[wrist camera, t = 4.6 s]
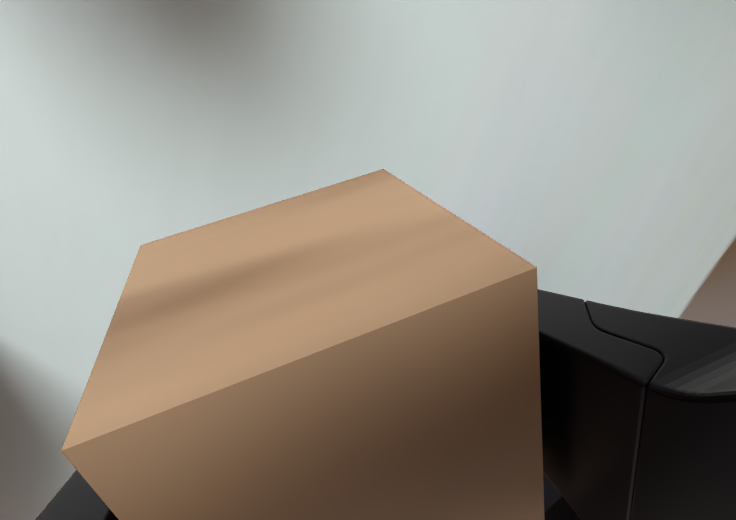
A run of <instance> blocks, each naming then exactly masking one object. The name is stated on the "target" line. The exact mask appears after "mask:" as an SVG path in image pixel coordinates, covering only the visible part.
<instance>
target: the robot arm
mask: <svg viewBox="0 0 736 520" xmlns="http://www.w3.org/2000/svg"><path fill="white" fill-rule="evenodd" d="M537 294H538V326H539V357H540V389H541V421H542V453H543V485H544V517H545V520H736V328H735V327H728V326H723V325H716V324H710V323H704V322H698V321H691V320H685V319H679V318H673V317H667V316H662V315H656V314H650V313H644V312H638V311H633V310H629V309H624V308H619V307H614V306H610V305H605V304H601V303H596V302H592V301H586V302H584V300H582V299H578V298H574V297H570V296H565V295H561V294H556V293H552V292H548V291H543V290H539V289H537ZM36 520H119V519H118V518H117V517H116V516H115V515H114V513H113V512H112V511H111V510H110V509H109V507H108V506H107V505H106V504H105V503H104V501H103V500H102V499H101V498H100V497H99V496H98V494H97V493H96V492H95V491H94V490H93V488H92V487H91V486H90V485H89V484H88V482H87V481H86V480H85V479H84V478H83V476H82V475H81V474H80V473H79V472H78V471H77V470H76V471H75V473H74V474H73V475H72V476H71V477H70V479H69V480H68V481H67V482H66V484H65V485H64V486H63V487H62V488H61V490H60V491H59V492H58V493H57V494H56V496H55V497H54V498H53V499H52V501H51V502H50V503H49V504H48V505H47V507H46V508H45V509H44V510H43V511H42V513H41V514H40V515H39V516H38V517H37V519H36Z"/></svg>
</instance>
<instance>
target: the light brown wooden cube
mask: <svg viewBox="0 0 736 520" xmlns="http://www.w3.org/2000/svg"><path fill="white" fill-rule="evenodd" d="M61 451H62V453H63V454H64V455H65V456H66V457H67V459H68V460H69V461H70V462H71V463H72V465H73V466H74V467H75V468H76V469H77V471H78V472H79V473H80V474H81V475H82V476H83V478H84V479H85V480H86V481H87V482H88V484H89V485H90V486H91V487H92V488H93V490H94V491H95V492H96V493H97V494H98V496H99V497H100V498H101V499H102V500H103V501H104V503H105V504H106V505H107V506H108V507H109V509H110V510H111V511H112V512H113V513H114V515H115V516H116V517H117V518H118V519H119V520H545V517H544V485H543V453H542V421H541V389H540V357H539V326H538V294H537V267H535V266H534V265H532V264H531V263H529V262H528V261H526V260H524V259H523V258H521V257H520V256H518V255H517V254H515V253H514V252H512V251H510V250H509V249H507V248H506V247H504V246H503V245H501V244H499V243H498V242H496V241H495V240H493V239H492V238H490V237H489V236H487V235H485V234H484V233H482V232H481V231H479V230H478V229H476V228H475V227H473V226H471V225H470V224H468V223H467V222H465V221H464V220H462V219H460V218H459V217H457V216H456V215H454V214H453V213H451V212H450V211H448V210H446V209H445V208H443V207H442V206H440V205H439V204H437V203H436V202H434V201H432V200H431V199H429V198H428V197H426V196H425V195H423V194H421V193H420V192H418V191H417V190H415V189H414V188H412V187H411V186H409V185H407V184H406V183H404V182H403V181H401V180H400V179H398V178H397V177H395V176H393V175H392V174H390V173H389V172H387V171H386V170H384V169H382V170H379V171H376V172H372V173H369V174H366V175H363V176H360V177H357V178H353V179H350V180H347V181H344V182H341V183H337V184H334V185H331V186H328V187H325V188H322V189H318V190H315V191H312V192H309V193H306V194H302V195H299V196H296V197H293V198H290V199H287V200H283V201H280V202H277V203H274V204H271V205H267V206H264V207H261V208H258V209H255V210H252V211H248V212H245V213H242V214H239V215H236V216H232V217H229V218H226V219H223V220H220V221H217V222H213V223H210V224H207V225H204V226H201V227H197V228H194V229H191V230H188V231H185V232H182V233H178V234H175V235H172V236H169V237H166V238H162V239H159V240H156V241H153V242H150V243H147V244H143V245H141V246H140V248H139V251H138V253H137V256H136V259H135V261H134V264H133V266H132V269H131V271H130V274H129V277H128V279H127V282H126V284H125V287H124V290H123V292H122V295H121V297H120V300H119V302H118V305H117V308H116V310H115V313H114V315H113V318H112V321H111V323H110V326H109V328H108V331H107V333H106V336H105V339H104V341H103V344H102V346H101V349H100V351H99V354H98V357H97V359H96V362H95V364H94V367H93V370H92V372H91V375H90V377H89V380H88V382H87V385H86V388H85V390H84V393H83V395H82V398H81V401H80V403H79V406H78V408H77V411H76V413H75V416H74V419H73V421H72V424H71V426H70V429H69V432H68V434H67V437H66V439H65V442H64V444H63V447H62V450H61Z"/></svg>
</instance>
